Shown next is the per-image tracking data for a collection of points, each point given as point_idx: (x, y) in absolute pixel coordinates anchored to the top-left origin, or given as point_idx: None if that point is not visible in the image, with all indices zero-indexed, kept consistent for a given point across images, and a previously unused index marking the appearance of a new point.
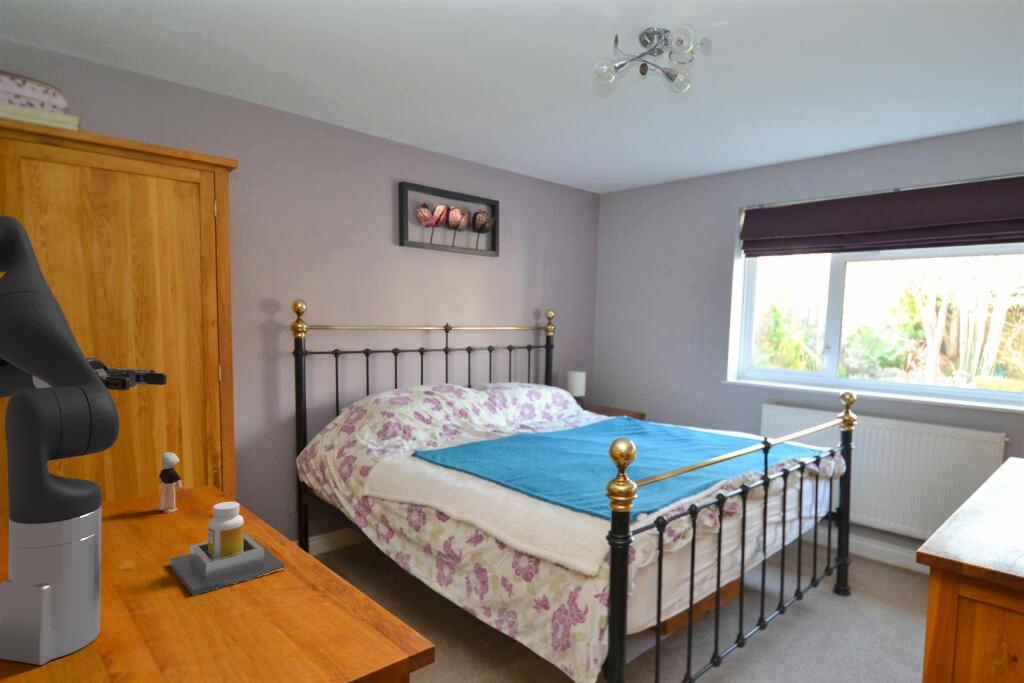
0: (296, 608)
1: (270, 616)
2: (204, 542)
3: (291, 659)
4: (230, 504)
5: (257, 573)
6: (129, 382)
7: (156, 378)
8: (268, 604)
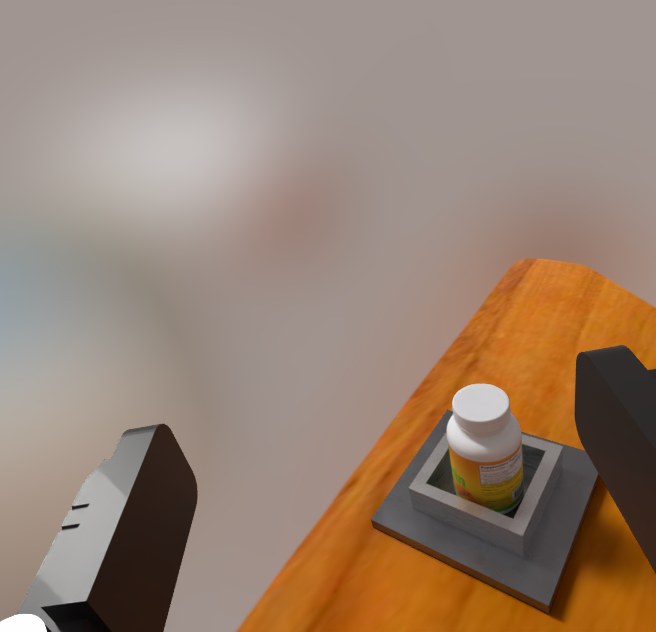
0: (531, 349)
1: (566, 357)
2: (491, 522)
3: (613, 303)
4: (471, 399)
5: None
6: (577, 376)
7: (160, 511)
8: (544, 374)
